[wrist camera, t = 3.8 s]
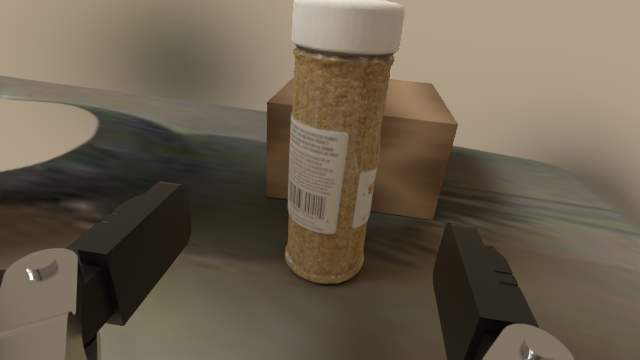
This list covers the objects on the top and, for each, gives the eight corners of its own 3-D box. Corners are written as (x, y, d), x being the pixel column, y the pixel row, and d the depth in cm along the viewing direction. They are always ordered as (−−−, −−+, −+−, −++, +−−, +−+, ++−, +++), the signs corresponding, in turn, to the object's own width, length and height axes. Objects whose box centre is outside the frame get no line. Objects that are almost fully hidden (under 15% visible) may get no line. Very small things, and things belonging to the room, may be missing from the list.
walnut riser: (266, 196, 27) (267, 102, 23) (297, 140, 37) (301, 69, 34) (432, 219, 26) (457, 124, 22) (416, 154, 36) (431, 83, 33)
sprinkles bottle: (379, 272, 20) (431, 4, 14) (306, 299, 18) (331, -5, 12) (335, 228, 24) (362, -2, 18) (270, 246, 22) (275, -10, 15)
